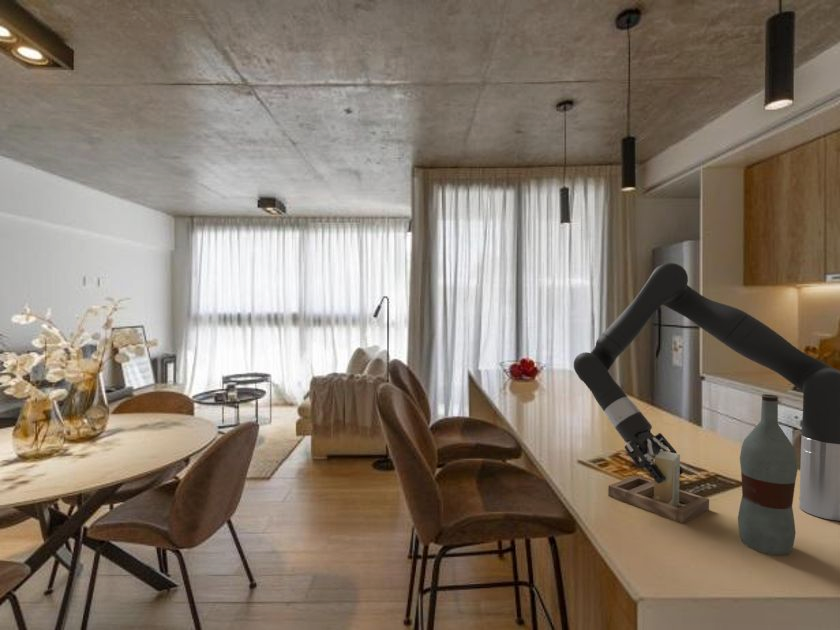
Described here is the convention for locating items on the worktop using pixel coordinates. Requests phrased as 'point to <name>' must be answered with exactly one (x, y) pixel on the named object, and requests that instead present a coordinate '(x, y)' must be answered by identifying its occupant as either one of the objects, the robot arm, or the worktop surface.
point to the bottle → (768, 485)
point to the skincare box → (668, 478)
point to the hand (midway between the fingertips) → (671, 477)
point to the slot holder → (640, 493)
